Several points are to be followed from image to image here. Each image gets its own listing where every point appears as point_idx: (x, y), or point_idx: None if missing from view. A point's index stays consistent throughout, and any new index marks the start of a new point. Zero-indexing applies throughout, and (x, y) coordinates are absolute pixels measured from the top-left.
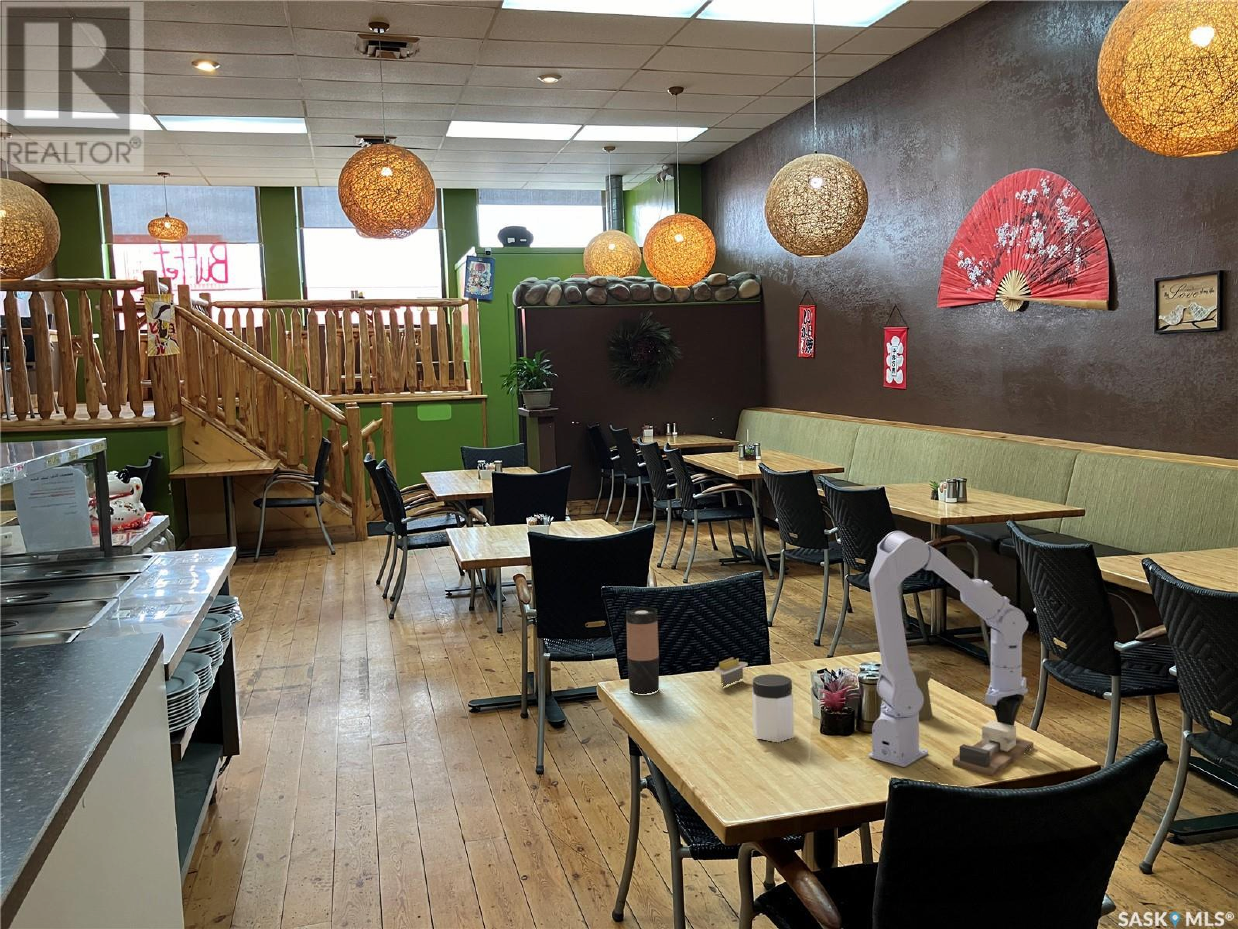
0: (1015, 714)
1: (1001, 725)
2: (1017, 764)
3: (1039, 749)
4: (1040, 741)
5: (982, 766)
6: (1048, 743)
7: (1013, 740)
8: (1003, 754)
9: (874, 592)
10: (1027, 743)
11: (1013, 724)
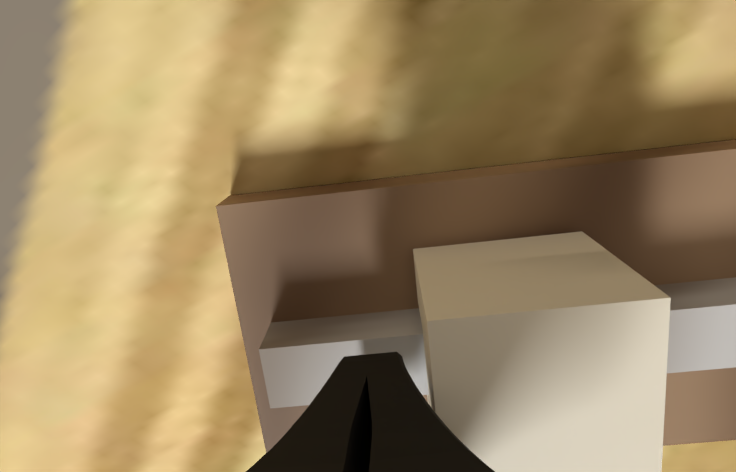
0: (323, 441)
1: (518, 430)
2: (604, 114)
3: (214, 153)
4: (74, 226)
5: None
6: (58, 168)
7: (470, 263)
8: (627, 231)
9: None
10: (277, 223)
11: (346, 379)
